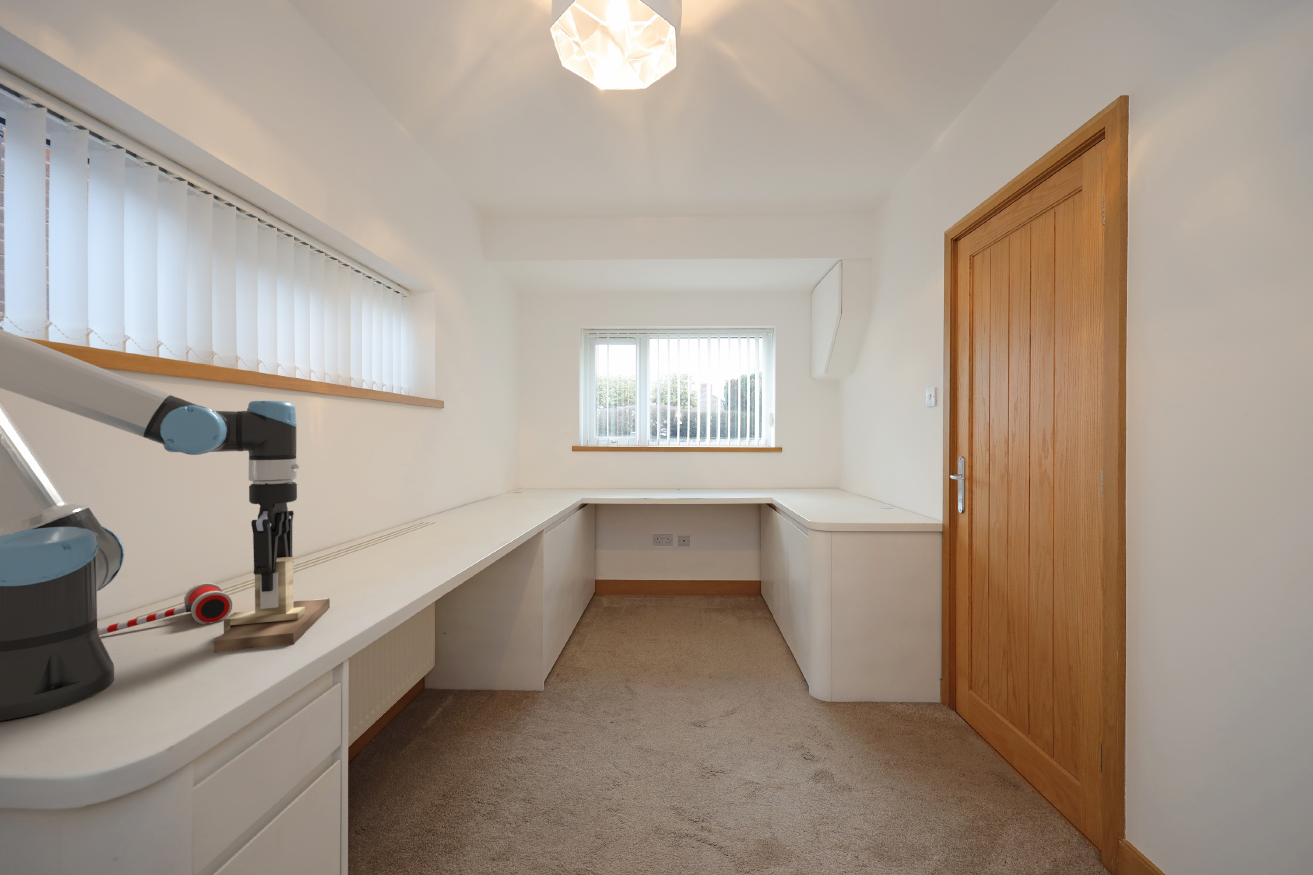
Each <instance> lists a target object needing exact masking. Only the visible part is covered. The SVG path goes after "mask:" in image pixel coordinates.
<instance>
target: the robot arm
mask: <svg viewBox="0 0 1313 875" xmlns="http://www.w3.org/2000/svg"><path fill="white" fill-rule="evenodd" d="M0 389H2V390H5V391H8V392H11V393H13V394H16V395H19V396H22V397H25V398H28V399H31V400H34V401H37V402H40V403H43V404H45V405H48V406H51V407H54V408H58V409H59V410H60V409H61V410H63V411H66V412H70V413H72V414H75V415H78V416H80V417H84V418H87V419H90V420H93V421H95V422H98V423H100V424H103V425H104V424H105V425H107V426H109V427H113V428H116V429H118V430H122V431H124V432H127V433H130V434H134V435H137V436H139V437H141V438H145V439H147V440H150V441H153V442H155V443H158V444H161V445H162V446H163V448H164V450H165V451H167V452H169V453H182V454H186V455H190V456H197V455H203V454H208V453H220V452H221V453H222V452H223V453H224V452H225V453H226V452H248V481H249V482H252V483H251V484H250V485H249V486H248V502H249V503H251V504H252V505H259V511H258V515H257V519H252V520H251V525H250V526H251V529H252V542H253V543H252V544H253V575H254V576H255V575H256V574H260V609H265V608H277V607H278V606H279V598H278V572H276V560H277V558H282V557H293V520H294V515H295V514H294V513H295V512H294V510H288V504H289V503H293V502H296V501H297V499H298V484H297V483H296V481H294V480H296V479H297V470H298V469H300V465H299V464H298V463H297V416H296V415H297V414H296V407H295V405H294V404H293V403H291V402H289V401H283V400H282V401H280V400H279V401H278V400H252V401H249V403H248V405H247V409H246V410H242V411H241V410H240V411H239V410H238V411H229V410H213V409H211V408H208V407H205V406H202V405H198V404H195V403H193V402H191V401H187V400H185V399H183V398H180V397H176V396H174V395H172V394H171V393H170V394H169V393H167V392H164V391H162V390H160V389H157V388H154V387H152V386H149V385H147V384H144V383H142V382H139V381H135V380H133V379H131V378H128V377H125V376H123V375H121V374H118V373H116V372H113V371H111V370H108V369H105V368H103V367H100V366H97V365H94V364H92V363H90V362H87V361H84V360H81V359H79V358H77V357H74V356H72V355H69V354H66V353H63V352H61V351H58V350H55V349H53V348H51V347H48V346H45V345H43V344H40V343H37V342H34V341H32V340H29V339H27V338H24V337H22V336H20V335H17V334H15V333H11V332H9V331H6V330H5V329H1V328H0ZM293 558H294V557H293ZM124 560H125V548H124V545H123V543H122V541H121V539H120V538H119V536H118V535H117V534H116V533H115V532H114V531H112V530H110V529H108V528H107V527H105V526H102V525H101V523H100V521H99V520H98V518H97V517H96V515H94V513H93V512H92V510H91V509H90V508H89V506H88V505H87V504H86V505H85V504H80V503H76V502H72V501H70V500H69V498H67V496H66V495H65V493H64V492H63V490H62V489H61V487H60V486H59V485H58V483H57V481H56V480H55V479H54V476H52V474H51V473H50V471H49V470H48V469H47V467H46V465H45V464H44V463H43V461H42V460H41V458H40V457H39V456H38V454H37V452H36V451H35V450H34V448H33V447H32V446H31V444H30V443H29V442H28V440H27V439H26V437H25V436H24V434H23V432H22V431H21V430H20V428H19V426H17V424H16V423H15V422H14V420H13V418H12V416H11V415H10V414H9V413H8V411H7V410H6V409H5V406H4V405H3V404H2V403H1V401H0V722H1V721H7V720H13V719H18V718H23V717H28V716H33V715H36V714H41V713H45V712H48V711H51V710H55V709H59V708H63V707H65V706H69V705H72V704H75V703H76V702H77V703H78V702H79V701H82V700H84V699H87V698H89V697H92V696H93V695H96V694H99V693H101V692H102V691H103V690H104V691H105V690H106V689H107V688H109V687H110V686H111V685H112V684H113V683H114V681H115V665H114V661H112V658H111V656H110V655H109V652H108V650H107V648H106V646H105V644H104V642H103V640H102V638H101V635H99V634H98V631H97V629H98V592H99V591H100V590H102V589H104V588H105V587H107V585H109V584H110V583H111V582H113V581H114V579H115V578H116V577H117V575H118V574H119V572H120V570H121V568H122V566H123V563H124Z"/></svg>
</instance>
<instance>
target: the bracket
mask: <svg viewBox="0 0 1313 875" xmlns="http://www.w3.org/2000/svg"><path fill="white" fill-rule="evenodd" d="M276 572H278V598H279V606H278V607H277V608H265V609H260V574H256V575H254V610H251V611H242V612H240V611H239V612H232V613H230V614H229V615H228V616H227V617H226V618H225V619H224V620H223V634H224V633H225V632H227V631H228V630H229V629H231V628H232V627H234V626H235V625H239V624H251V623H262V622H273V621H284V620H295V619H299V618H300V617H301V616H302V615H303V614H304V613H305V607H296V608H293V601H294V557H282V558H277V560H276Z"/></svg>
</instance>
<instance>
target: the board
mask: <svg viewBox="0 0 1313 875" xmlns="http://www.w3.org/2000/svg"><path fill="white" fill-rule="evenodd" d="M330 600H331V599H330V598H318V599H317V598H315V599H301V600H293V608H296V607H305V613H304V614H303V615H302V616H301V617H300V618H299V619H295V620H284V621H273V622H262V623H251V624H239V625H235V626H234V627H232V628H231V629H229V630H228V631H227V632H225V633H224V632H223V634H221V635H219V636H218V637H217V638H216V639H214V640H213V653H218V652H230V651H238V650H239V651H240V650H248V649H259V648H260V649H261V648H268V647H269V648H270V647H280V646H290V645H294V644H296V642H298V640H300V638H301V637H302V636H304V634H305V633H306V632H308V630H309V629H310V628H312V627H313V625H314V624H315V623H316V622H317V621H318V620H319V619H320V618H321V617H323V615H324V614H326V612H327V611H328V610H329V609H330V608H331V603H330V602H331V601H330Z"/></svg>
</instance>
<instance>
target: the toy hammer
mask: <svg viewBox="0 0 1313 875" xmlns="http://www.w3.org/2000/svg"><path fill="white" fill-rule="evenodd" d="M232 610H233V601H232V598H231V597H230V596H229V595H228V594H227V593H225V592H224V591H223V590H222V588H221V587H220V586H218V584H215V583H213V582H201V583H197V584H195V585H194V586H192V587H191V588H189V589H188V591H187V592H185V595H184V599H183V605H182V606H179V607H174V608H169V609H167V610H162V611H159V612H156V613H152V614H148V615H144V616H139V617H136V618H133V619H129V620H125V621H120V622H117V623H113V624H110V625H105V626H102V627H99V628H98V627H97V631H98V634H99V636H103V635H105V634H110V633H113V632H117V631H121V630H125V629H129V628H132V627H135V626H139V625H143V624H144V625H145V624H147V623H151V622H154V621H159V620H161V619H166V618H169V617H172V616H177V615H180V614H185V613H186V614H187V613H191V616H192V618H193V619H194V621H196V622H197V623H199V624H200V625H208V624H211V623H210V622H213V623H218V622H222V621H224V619H225V618H227V617H228V616H230V615H231V612H232ZM221 620H222V621H221ZM217 621H218V622H217ZM207 623H208V624H207Z"/></svg>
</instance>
